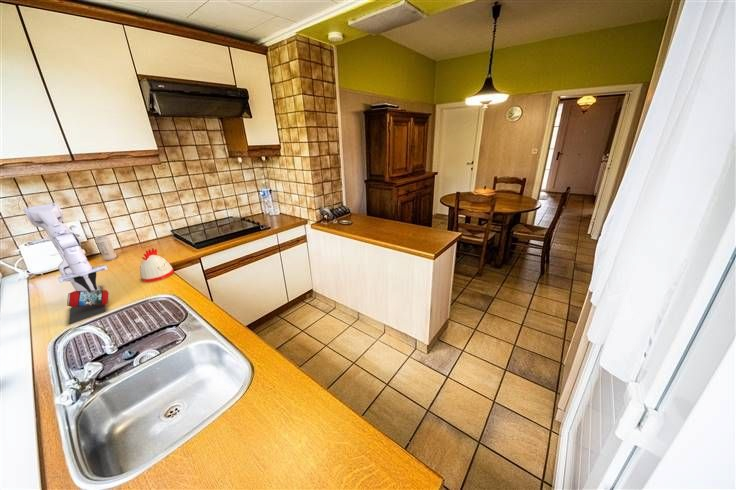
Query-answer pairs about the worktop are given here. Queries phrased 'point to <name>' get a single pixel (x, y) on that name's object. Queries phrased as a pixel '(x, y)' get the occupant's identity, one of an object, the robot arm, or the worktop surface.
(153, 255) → the kitchen timer
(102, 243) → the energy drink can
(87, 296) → the beverage can
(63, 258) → the robot arm
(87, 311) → the rubber mat
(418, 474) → the worktop surface
